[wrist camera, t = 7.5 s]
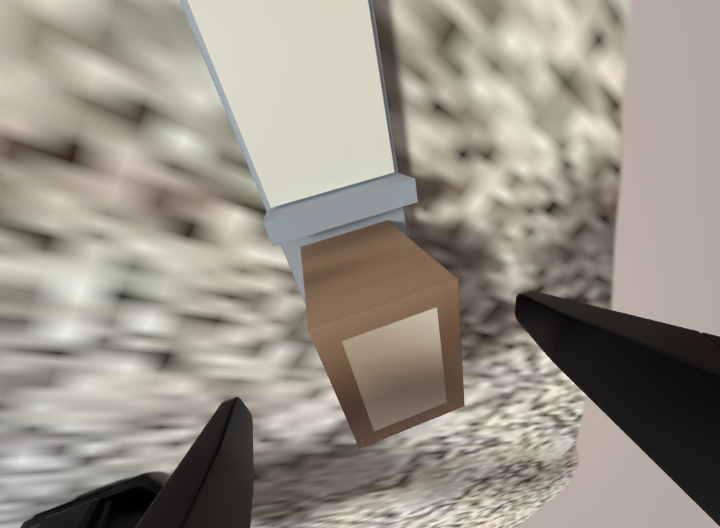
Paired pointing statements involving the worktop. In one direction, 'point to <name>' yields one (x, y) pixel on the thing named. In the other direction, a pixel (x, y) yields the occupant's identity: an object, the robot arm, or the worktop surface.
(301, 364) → the worktop surface
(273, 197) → the bracket
